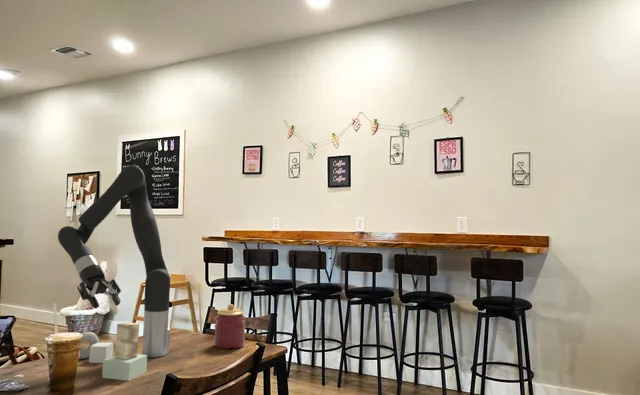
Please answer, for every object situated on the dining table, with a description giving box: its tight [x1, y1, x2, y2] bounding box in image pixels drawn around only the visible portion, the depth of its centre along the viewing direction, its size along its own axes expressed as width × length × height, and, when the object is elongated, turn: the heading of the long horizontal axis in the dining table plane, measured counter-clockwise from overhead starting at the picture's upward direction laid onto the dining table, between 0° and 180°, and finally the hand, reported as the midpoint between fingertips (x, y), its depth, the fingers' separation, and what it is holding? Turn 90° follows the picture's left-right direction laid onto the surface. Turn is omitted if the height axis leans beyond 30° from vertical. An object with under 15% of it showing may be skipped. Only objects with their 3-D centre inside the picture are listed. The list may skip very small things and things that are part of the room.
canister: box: [213, 303, 247, 349], centre depth 206 cm, size 13×13×18 cm
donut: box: [78, 331, 100, 360], centre depth 180 cm, size 10×4×10 cm, turn 138°
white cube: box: [88, 341, 114, 364], centre depth 178 cm, size 6×6×6 cm
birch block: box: [114, 322, 140, 359], centre depth 164 cm, size 5×5×11 cm
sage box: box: [101, 353, 148, 382], centre depth 163 cm, size 10×10×6 cm
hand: (108, 305), depth 169 cm, fingers open, 8 cm apart
